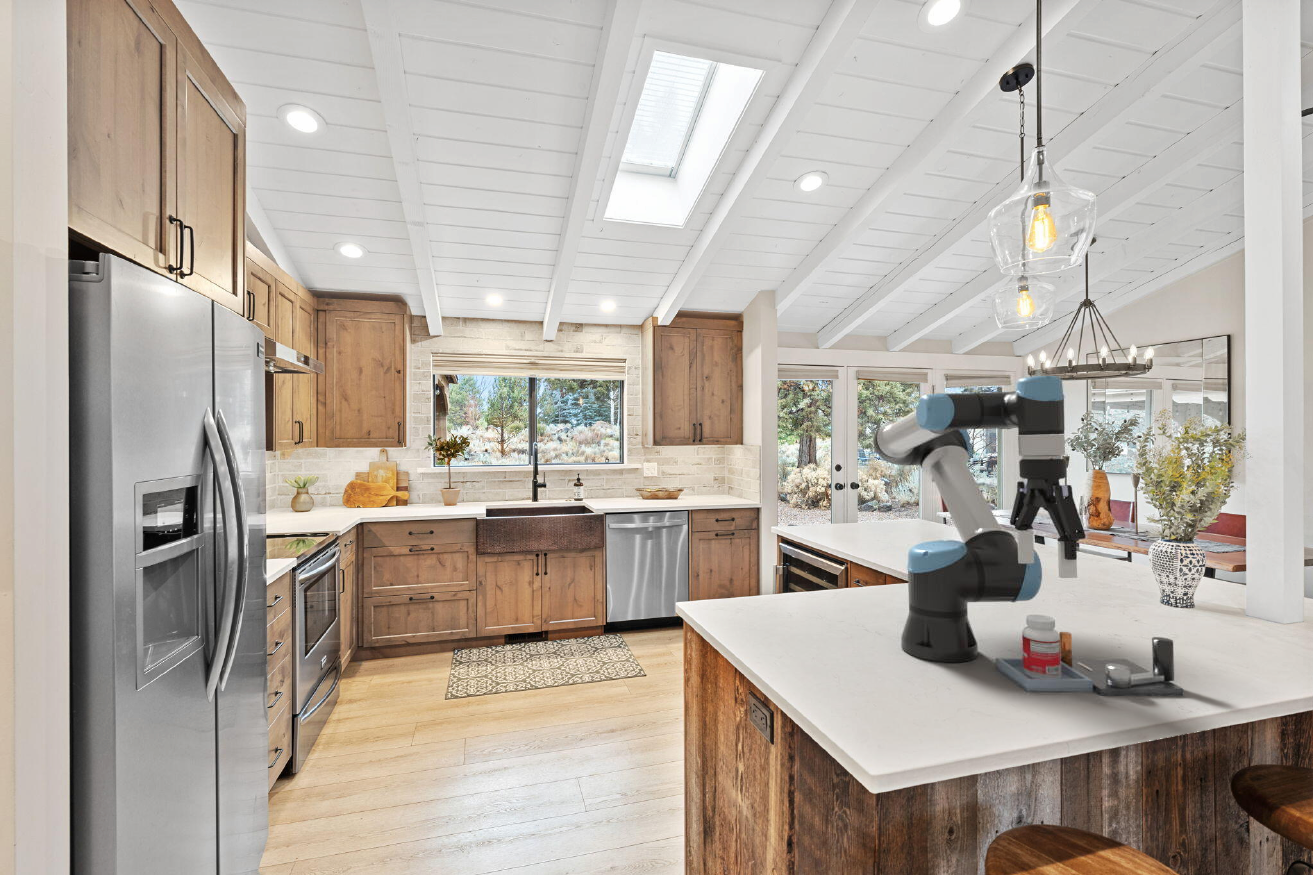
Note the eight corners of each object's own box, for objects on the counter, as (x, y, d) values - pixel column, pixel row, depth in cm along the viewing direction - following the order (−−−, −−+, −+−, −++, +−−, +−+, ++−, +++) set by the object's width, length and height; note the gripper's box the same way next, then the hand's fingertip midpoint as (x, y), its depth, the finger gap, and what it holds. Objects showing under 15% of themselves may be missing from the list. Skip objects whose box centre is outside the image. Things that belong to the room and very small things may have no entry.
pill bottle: (1027, 667, 122) (1026, 611, 122) (1064, 675, 118) (1062, 617, 118) (1019, 676, 117) (1018, 618, 117) (1057, 685, 113) (1055, 624, 113)
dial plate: (1100, 695, 110) (1099, 654, 110) (1053, 665, 124) (1052, 629, 124) (1183, 695, 109) (1182, 654, 109) (1125, 665, 123) (1124, 629, 123)
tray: (1027, 691, 112) (1027, 680, 112) (996, 667, 124) (995, 657, 124) (1093, 691, 111) (1092, 680, 111) (1055, 667, 123) (1055, 657, 123)
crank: (1119, 688, 109) (1118, 648, 109) (1100, 680, 112) (1099, 642, 112) (1180, 680, 112) (1179, 642, 112) (1160, 673, 115) (1159, 635, 115)
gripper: (1107, 458, 105) (1111, 584, 104) (1026, 456, 129) (1029, 557, 129) (1061, 459, 105) (1065, 584, 105) (989, 457, 130) (992, 558, 129)
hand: (1045, 570), depth 117 cm, fingers open, 13 cm apart
